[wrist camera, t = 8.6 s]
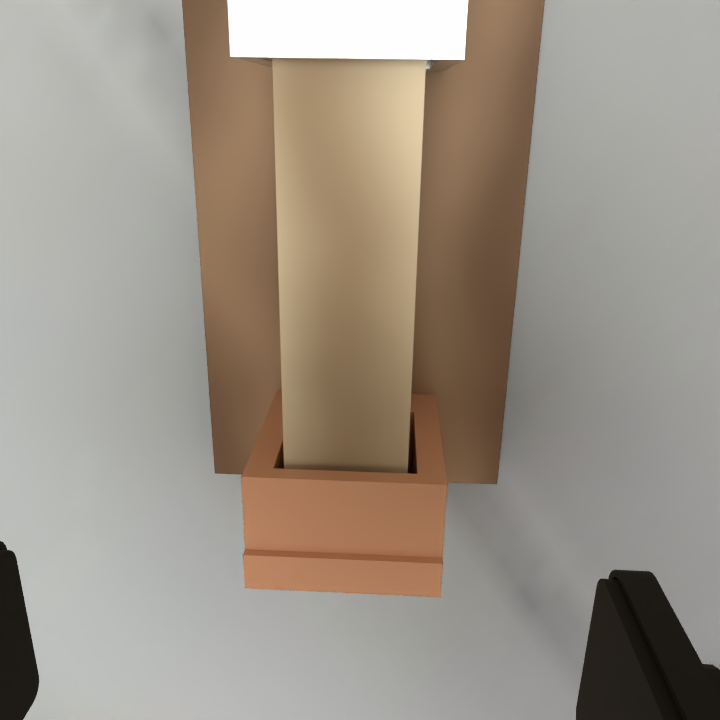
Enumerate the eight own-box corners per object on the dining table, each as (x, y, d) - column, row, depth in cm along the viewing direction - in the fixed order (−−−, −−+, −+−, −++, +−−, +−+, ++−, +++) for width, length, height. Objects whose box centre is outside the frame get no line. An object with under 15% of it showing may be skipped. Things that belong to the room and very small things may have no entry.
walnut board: (560, -260, 21) (572, -285, 20) (492, 466, 30) (497, 484, 29) (177, -257, 22) (162, -282, 20) (223, 456, 31) (214, 473, 29)
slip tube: (426, -55, 20) (433, -91, 16) (404, 477, 27) (405, 539, 23) (290, -56, 20) (267, -91, 17) (300, 474, 27) (285, 534, 23)
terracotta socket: (435, 394, 28) (447, 490, 21) (430, 481, 29) (440, 596, 22) (277, 389, 28) (239, 481, 21) (279, 476, 29) (245, 588, 22)
